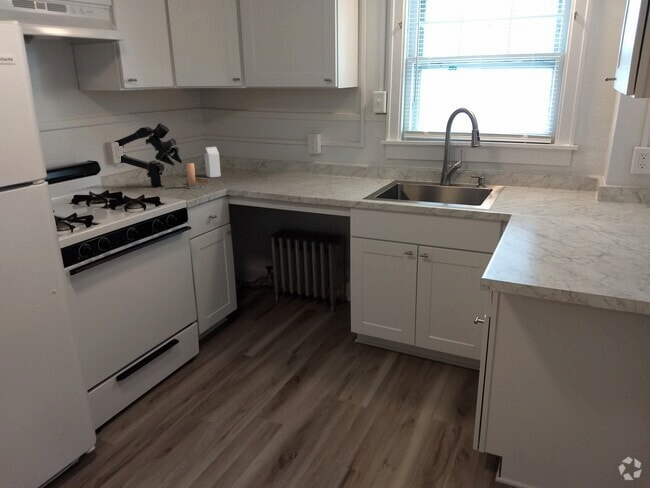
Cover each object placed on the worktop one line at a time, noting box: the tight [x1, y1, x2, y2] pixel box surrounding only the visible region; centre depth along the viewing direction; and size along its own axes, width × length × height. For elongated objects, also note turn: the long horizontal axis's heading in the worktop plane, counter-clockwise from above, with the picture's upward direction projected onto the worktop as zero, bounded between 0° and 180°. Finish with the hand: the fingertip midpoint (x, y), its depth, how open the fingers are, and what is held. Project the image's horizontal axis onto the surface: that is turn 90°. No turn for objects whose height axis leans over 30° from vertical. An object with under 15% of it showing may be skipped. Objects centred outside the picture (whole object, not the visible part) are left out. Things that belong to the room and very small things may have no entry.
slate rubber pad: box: [183, 185, 202, 190], centre depth 289 cm, size 7×7×1 cm
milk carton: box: [203, 146, 222, 178], centre depth 321 cm, size 7×7×19 cm
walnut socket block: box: [186, 177, 209, 186], centre depth 300 cm, size 9×9×2 cm
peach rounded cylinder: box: [186, 162, 196, 187], centre depth 287 cm, size 4×4×13 cm
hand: (177, 163), depth 286 cm, fingers open, 9 cm apart
